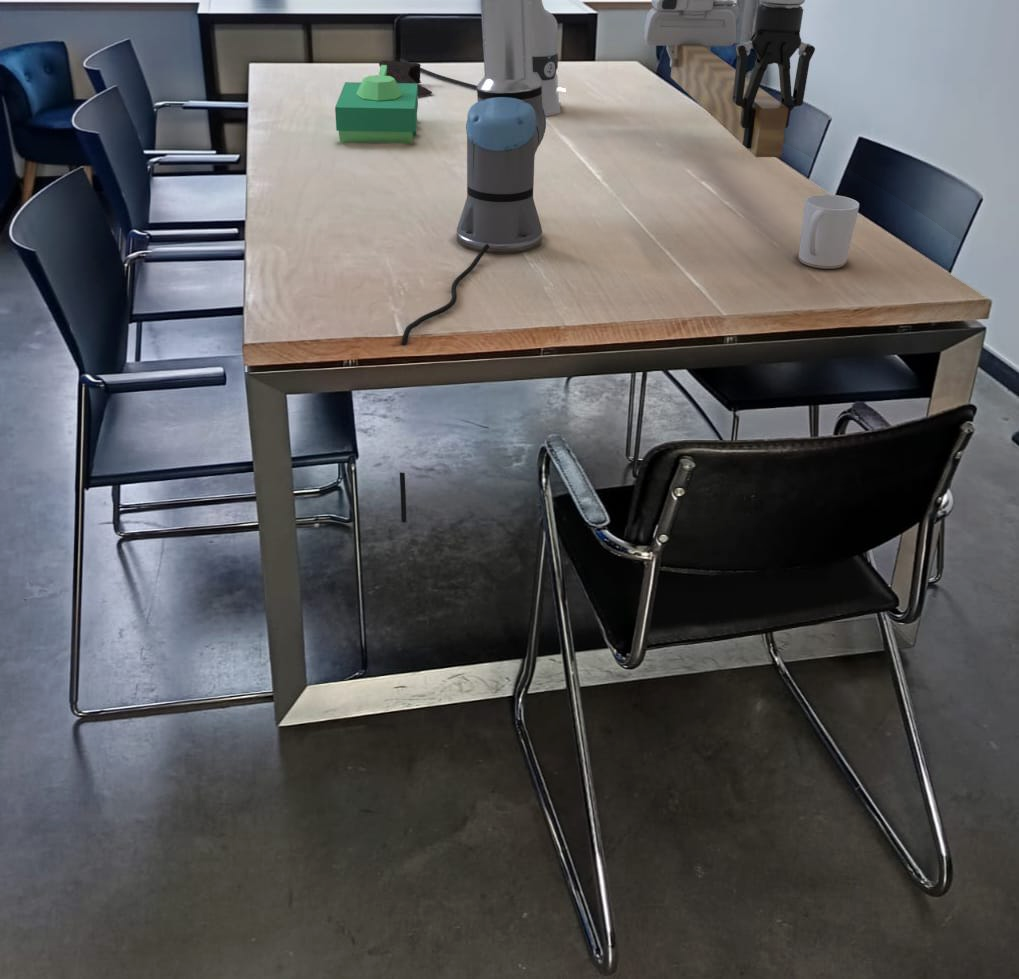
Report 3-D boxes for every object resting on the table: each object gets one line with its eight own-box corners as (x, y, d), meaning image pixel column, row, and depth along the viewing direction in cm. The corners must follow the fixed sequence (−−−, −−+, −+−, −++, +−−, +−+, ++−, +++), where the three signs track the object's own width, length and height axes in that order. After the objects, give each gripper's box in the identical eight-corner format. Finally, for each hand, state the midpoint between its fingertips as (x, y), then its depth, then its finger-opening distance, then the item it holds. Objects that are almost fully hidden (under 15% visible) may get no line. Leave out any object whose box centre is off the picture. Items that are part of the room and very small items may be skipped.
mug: (809, 248, 195) (819, 191, 189) (856, 260, 190) (868, 201, 185) (780, 264, 188) (790, 205, 182) (829, 277, 183) (840, 216, 177)
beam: (781, 157, 191) (788, 108, 187) (755, 157, 191) (762, 108, 186) (689, 77, 251) (693, 38, 246) (670, 77, 250) (674, 38, 246)
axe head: (443, 87, 294) (392, 77, 287) (436, 115, 299) (385, 106, 292) (421, 62, 307) (371, 52, 300) (414, 89, 311) (365, 80, 304)
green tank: (418, 61, 273) (414, 91, 243) (418, 112, 279) (415, 147, 249) (346, 59, 272) (334, 89, 242) (349, 110, 278) (337, 146, 249)
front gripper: (825, 1, 186) (802, 141, 198) (723, 0, 185) (707, 141, 197) (839, 8, 180) (816, 152, 192) (734, 7, 179) (717, 151, 191)
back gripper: (736, -2, 241) (728, 64, 248) (644, -3, 239) (639, 63, 246) (743, 2, 235) (735, 70, 243) (650, 1, 234) (644, 69, 241)
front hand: (761, 146), depth 195 cm, fingers closed on beam, 5 cm apart
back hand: (686, 66), depth 245 cm, fingers closed on beam, 4 cm apart
